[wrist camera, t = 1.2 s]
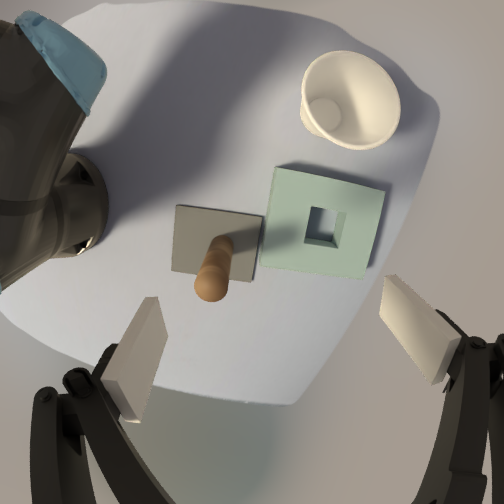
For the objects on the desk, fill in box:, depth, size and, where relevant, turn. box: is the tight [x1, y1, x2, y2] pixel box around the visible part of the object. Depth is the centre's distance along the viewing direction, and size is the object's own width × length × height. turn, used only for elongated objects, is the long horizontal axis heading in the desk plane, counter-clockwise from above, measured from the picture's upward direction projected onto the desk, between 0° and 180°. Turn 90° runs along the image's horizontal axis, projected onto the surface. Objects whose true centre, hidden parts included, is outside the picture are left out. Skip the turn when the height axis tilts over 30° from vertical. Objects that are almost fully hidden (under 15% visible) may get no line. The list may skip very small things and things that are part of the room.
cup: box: [300, 50, 401, 150], centre depth 26 cm, size 10×10×11 cm
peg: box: [194, 235, 234, 302], centre depth 30 cm, size 3×3×12 cm
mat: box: [171, 205, 262, 282], centre depth 36 cm, size 11×9×1 cm
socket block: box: [259, 167, 385, 280], centre depth 34 cm, size 14×12×3 cm
